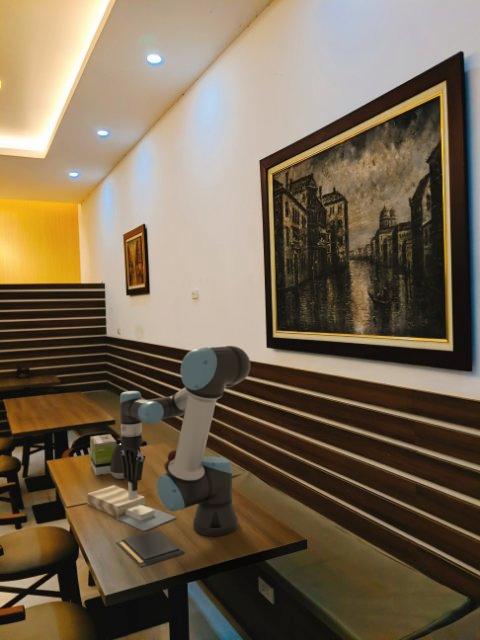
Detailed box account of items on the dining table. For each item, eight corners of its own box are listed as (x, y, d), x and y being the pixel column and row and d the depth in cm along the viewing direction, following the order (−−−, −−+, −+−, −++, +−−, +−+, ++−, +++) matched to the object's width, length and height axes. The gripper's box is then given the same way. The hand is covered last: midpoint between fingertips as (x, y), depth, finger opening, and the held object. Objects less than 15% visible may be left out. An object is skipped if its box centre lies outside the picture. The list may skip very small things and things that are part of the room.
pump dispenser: (136, 473, 228) (136, 440, 228) (129, 481, 218) (129, 446, 218) (115, 473, 229) (114, 440, 229) (106, 481, 219) (106, 446, 219)
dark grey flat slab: (186, 549, 152) (138, 564, 144) (186, 556, 152) (138, 570, 144) (159, 526, 169) (115, 538, 160) (159, 532, 169) (115, 544, 160)
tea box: (90, 466, 240) (89, 435, 239) (111, 463, 244) (111, 433, 244) (95, 476, 226) (94, 443, 226) (117, 472, 230) (117, 440, 230)
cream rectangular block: (154, 515, 180) (154, 509, 180) (140, 520, 175) (140, 515, 175) (139, 509, 186) (138, 503, 186) (125, 514, 181) (125, 508, 181)
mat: (176, 518, 178) (176, 517, 178) (144, 531, 168) (144, 530, 168) (148, 507, 189) (148, 506, 189) (116, 519, 178) (116, 517, 178)
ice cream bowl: (166, 492, 204) (165, 455, 204) (163, 483, 215) (162, 448, 214) (192, 489, 207) (191, 453, 207) (188, 480, 218) (187, 446, 217)
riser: (145, 507, 188) (144, 497, 188) (117, 517, 179) (117, 506, 179) (114, 495, 202) (114, 485, 202) (87, 504, 193) (87, 493, 193)
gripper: (112, 433, 184) (113, 497, 185) (133, 439, 176) (135, 506, 176) (129, 429, 190) (130, 492, 190) (150, 434, 181) (152, 500, 182)
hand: (132, 498), depth 183 cm, fingers closed
